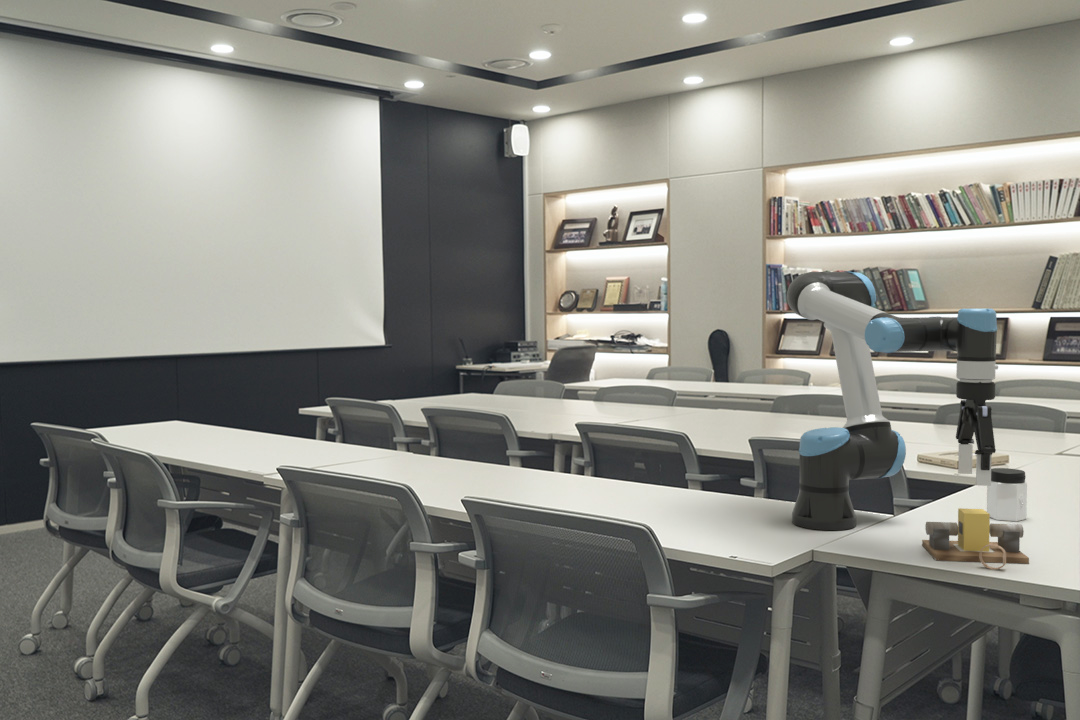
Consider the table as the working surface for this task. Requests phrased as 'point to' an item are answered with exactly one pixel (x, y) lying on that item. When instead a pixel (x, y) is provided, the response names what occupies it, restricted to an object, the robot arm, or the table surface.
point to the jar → (1007, 495)
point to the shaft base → (953, 552)
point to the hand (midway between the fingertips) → (973, 479)
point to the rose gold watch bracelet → (986, 564)
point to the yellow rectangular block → (973, 529)
